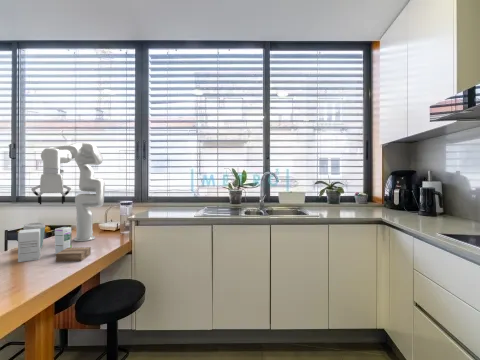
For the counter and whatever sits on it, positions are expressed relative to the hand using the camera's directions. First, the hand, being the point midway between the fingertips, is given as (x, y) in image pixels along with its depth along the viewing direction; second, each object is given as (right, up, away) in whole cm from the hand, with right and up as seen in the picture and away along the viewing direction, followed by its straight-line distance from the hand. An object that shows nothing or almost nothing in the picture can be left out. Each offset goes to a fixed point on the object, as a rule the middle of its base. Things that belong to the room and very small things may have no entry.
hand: (51, 203), depth 143 cm
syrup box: (0, -29, +10) cm, 31 cm away
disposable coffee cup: (-23, -29, +18) cm, 41 cm away
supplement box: (-11, -29, -1) cm, 31 cm away
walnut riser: (+11, -29, +1) cm, 31 cm away
